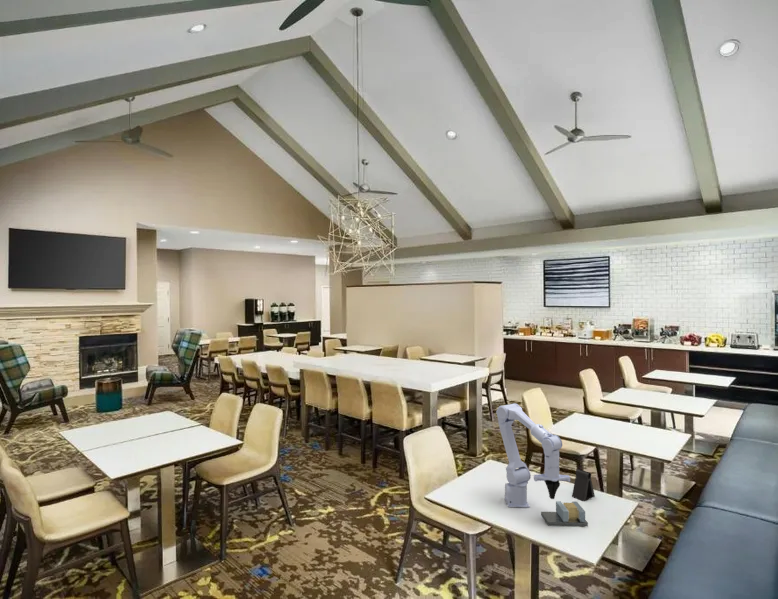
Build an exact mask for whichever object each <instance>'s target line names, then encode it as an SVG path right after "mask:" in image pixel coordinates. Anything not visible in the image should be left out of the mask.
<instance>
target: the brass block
mask: <svg viewBox="0 0 778 599" xmlns="http://www.w3.org/2000/svg"><path fill="white" fill-rule="evenodd" d="M563 504H564V506H565V507H566V508H567V509H568V511H569V519H568V520H577V507H576V506H575V504H574V503H572V502H563Z"/></svg>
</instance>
